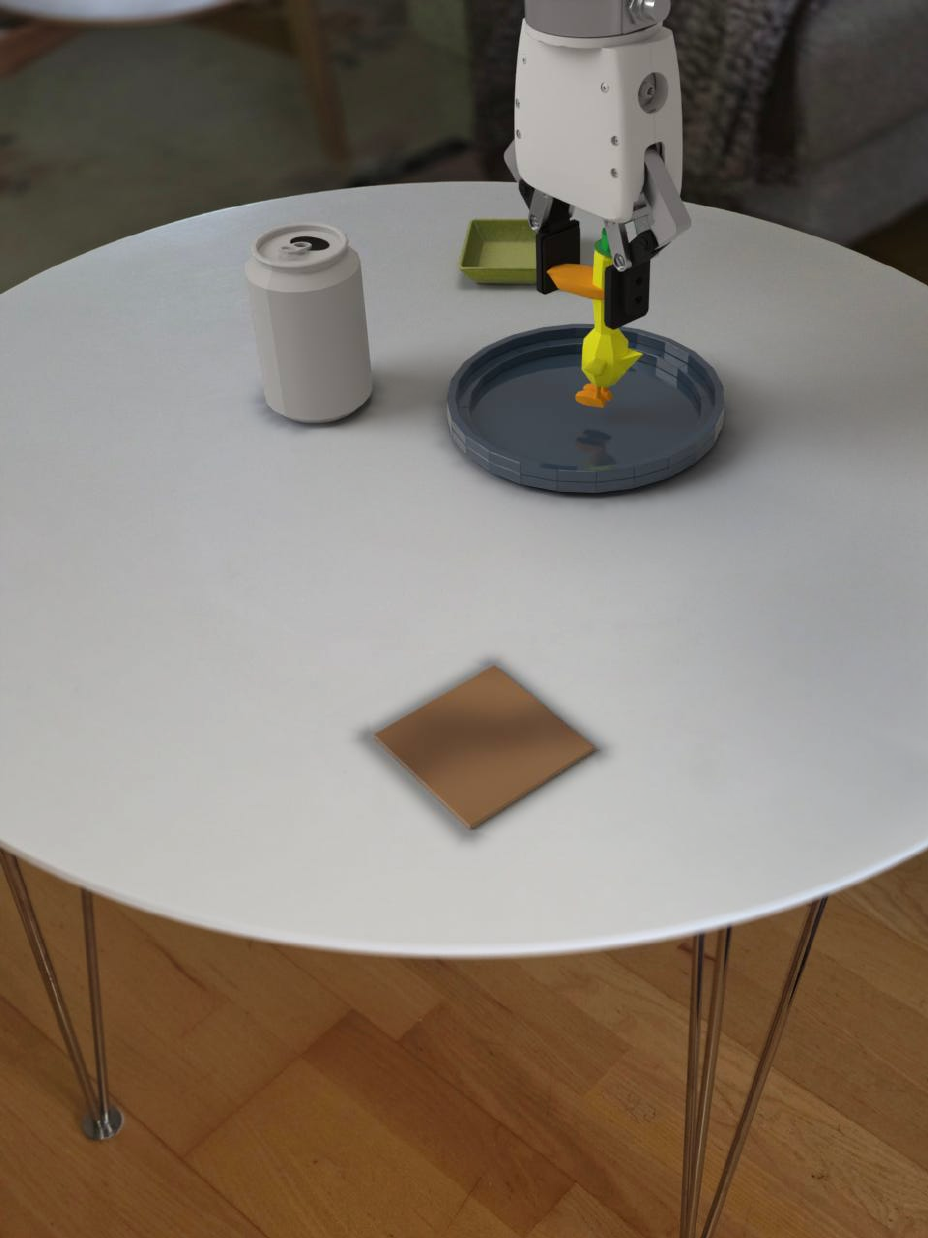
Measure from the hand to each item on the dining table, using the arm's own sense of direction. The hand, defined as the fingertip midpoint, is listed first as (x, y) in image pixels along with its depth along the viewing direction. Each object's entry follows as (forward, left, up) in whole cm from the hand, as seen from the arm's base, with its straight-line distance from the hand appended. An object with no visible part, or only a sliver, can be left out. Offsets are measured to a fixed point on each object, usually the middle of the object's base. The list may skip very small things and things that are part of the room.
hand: (591, 300), depth 85 cm
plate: (+1, 0, -9) cm, 9 cm away
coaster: (-18, +24, -9) cm, 32 cm away
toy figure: (0, 0, -7) cm, 7 cm away
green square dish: (+21, -11, -9) cm, 25 cm away
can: (+15, +12, -9) cm, 21 cm away
